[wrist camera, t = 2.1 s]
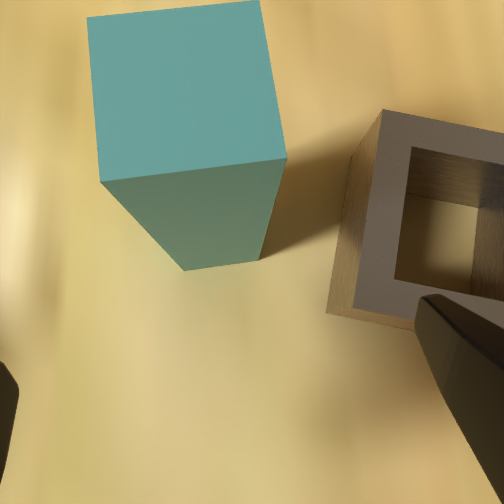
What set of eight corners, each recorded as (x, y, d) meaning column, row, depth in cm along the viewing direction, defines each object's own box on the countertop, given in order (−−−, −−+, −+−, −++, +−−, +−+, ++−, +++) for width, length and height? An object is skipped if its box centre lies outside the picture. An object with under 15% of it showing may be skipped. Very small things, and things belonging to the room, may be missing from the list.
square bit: (258, 260, 21) (287, 158, 9) (184, 270, 21) (100, 181, 8) (247, 190, 22) (259, 0, 9) (175, 199, 22) (86, 17, 9)
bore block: (494, 347, 21) (572, 353, 16) (325, 312, 21) (352, 307, 16) (506, 188, 23) (580, 149, 18) (351, 156, 23) (382, 109, 18)
